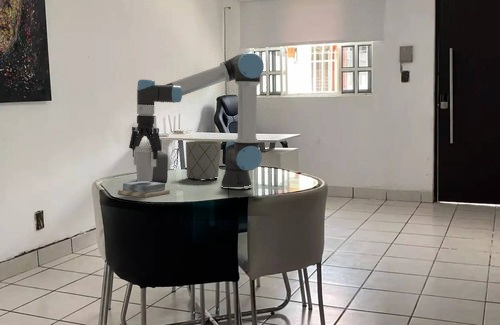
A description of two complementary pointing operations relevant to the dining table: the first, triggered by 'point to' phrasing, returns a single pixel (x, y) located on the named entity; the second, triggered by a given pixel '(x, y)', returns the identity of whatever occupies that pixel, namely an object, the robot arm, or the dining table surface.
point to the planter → (202, 159)
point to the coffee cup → (143, 163)
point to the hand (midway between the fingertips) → (144, 165)
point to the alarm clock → (160, 168)
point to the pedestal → (143, 189)
